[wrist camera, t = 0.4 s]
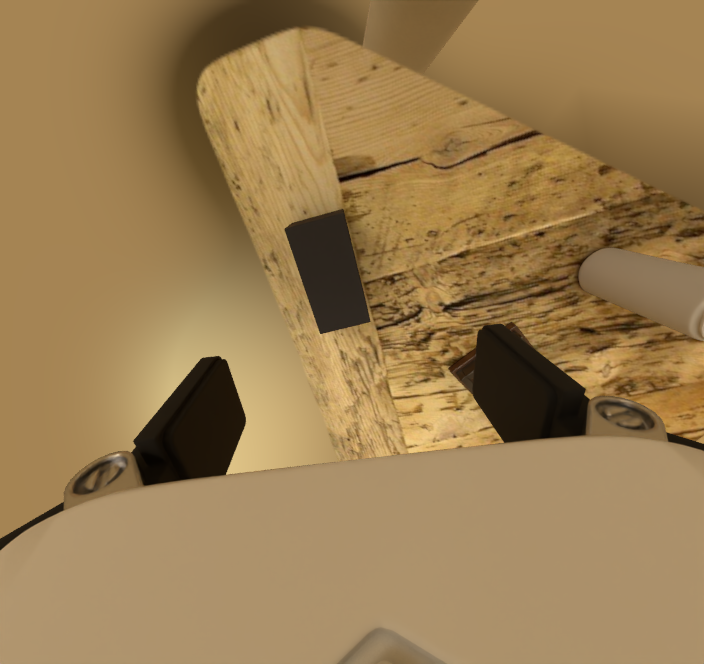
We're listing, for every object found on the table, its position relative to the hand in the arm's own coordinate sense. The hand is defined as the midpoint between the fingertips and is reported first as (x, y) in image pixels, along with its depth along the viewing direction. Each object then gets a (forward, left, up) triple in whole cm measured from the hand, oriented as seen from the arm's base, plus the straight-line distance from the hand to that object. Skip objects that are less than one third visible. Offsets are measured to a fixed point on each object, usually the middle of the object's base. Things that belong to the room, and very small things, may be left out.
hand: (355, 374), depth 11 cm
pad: (+1, -1, -20) cm, 20 cm away
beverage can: (-1, +26, -20) cm, 33 cm away
